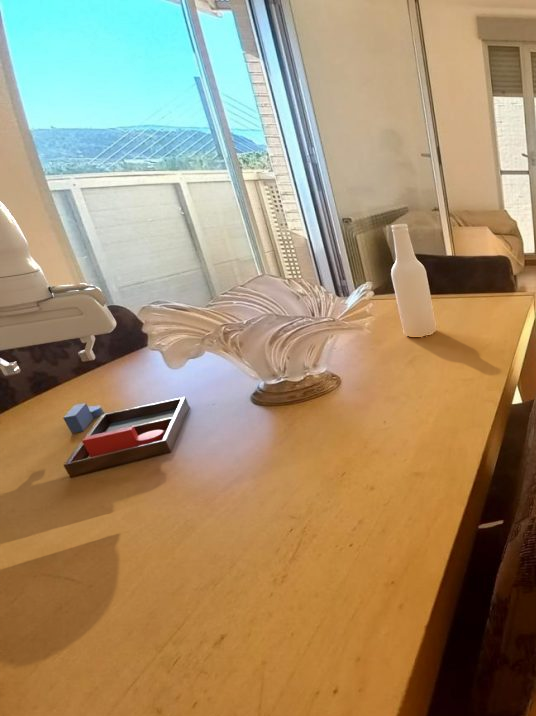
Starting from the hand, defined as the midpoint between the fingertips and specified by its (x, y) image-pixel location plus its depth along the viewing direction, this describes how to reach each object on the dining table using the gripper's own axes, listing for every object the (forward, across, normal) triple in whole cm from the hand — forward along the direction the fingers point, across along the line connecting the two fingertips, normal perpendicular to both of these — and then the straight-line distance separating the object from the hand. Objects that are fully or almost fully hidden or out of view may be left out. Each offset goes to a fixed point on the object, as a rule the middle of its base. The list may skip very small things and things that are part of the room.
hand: (52, 366), depth 85 cm
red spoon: (+12, -9, +17) cm, 23 cm away
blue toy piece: (+12, 0, -2) cm, 13 cm away
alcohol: (+13, -65, -13) cm, 68 cm away
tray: (+12, -9, +12) cm, 20 cm away
